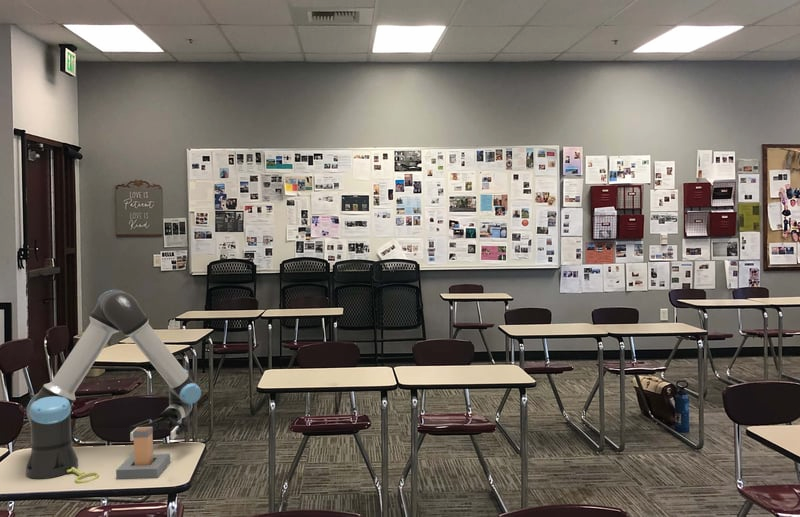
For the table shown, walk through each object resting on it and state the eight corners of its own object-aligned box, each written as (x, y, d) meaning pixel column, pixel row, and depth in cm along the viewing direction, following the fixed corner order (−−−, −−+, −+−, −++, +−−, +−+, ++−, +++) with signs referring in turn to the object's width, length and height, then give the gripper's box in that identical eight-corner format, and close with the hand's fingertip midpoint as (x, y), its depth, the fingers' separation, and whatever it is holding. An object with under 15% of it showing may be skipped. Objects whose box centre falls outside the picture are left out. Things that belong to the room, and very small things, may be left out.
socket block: (116, 479, 196) (116, 470, 196) (131, 463, 209) (131, 455, 209) (157, 477, 197) (157, 468, 197) (170, 462, 210) (170, 453, 210)
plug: (134, 473, 201) (133, 431, 200) (139, 467, 206) (138, 427, 205) (149, 473, 201) (147, 431, 200) (153, 467, 206) (152, 426, 205)
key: (72, 472, 203) (72, 466, 203) (102, 477, 199) (102, 470, 199) (54, 481, 196) (54, 474, 196) (85, 486, 193) (84, 479, 193)
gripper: (205, 426, 232) (188, 446, 210) (138, 427, 230) (114, 448, 209) (204, 406, 231) (188, 424, 210) (137, 408, 230) (114, 426, 209)
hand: (151, 436), depth 210 cm, fingers open, 13 cm apart
